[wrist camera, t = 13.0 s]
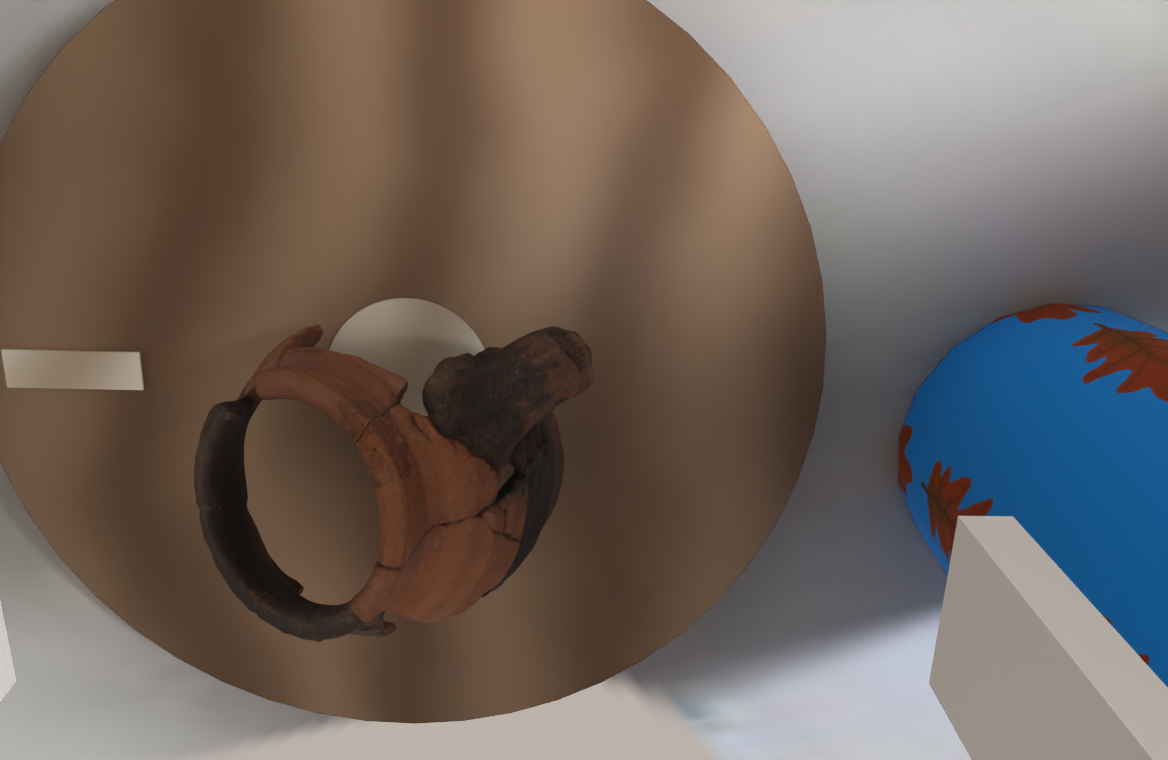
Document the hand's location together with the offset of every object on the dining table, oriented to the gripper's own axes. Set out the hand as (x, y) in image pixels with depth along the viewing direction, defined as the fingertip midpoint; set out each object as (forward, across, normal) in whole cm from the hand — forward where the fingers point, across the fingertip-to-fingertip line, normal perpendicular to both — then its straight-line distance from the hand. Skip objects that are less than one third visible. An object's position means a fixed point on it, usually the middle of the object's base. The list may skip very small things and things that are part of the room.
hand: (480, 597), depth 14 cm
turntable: (+18, +3, +3) cm, 19 cm away
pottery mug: (+18, +3, +5) cm, 18 cm away
